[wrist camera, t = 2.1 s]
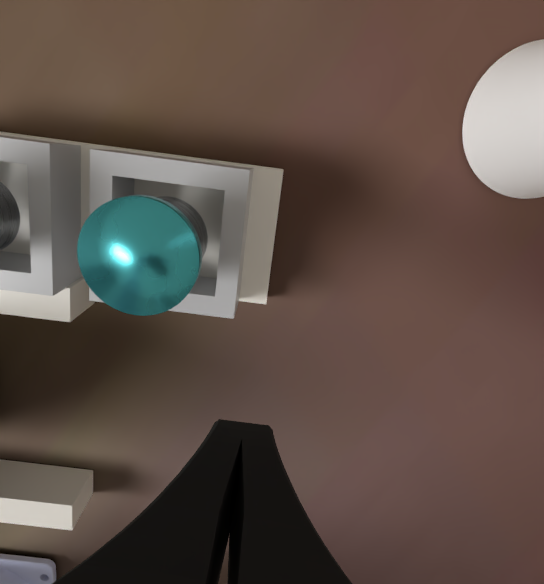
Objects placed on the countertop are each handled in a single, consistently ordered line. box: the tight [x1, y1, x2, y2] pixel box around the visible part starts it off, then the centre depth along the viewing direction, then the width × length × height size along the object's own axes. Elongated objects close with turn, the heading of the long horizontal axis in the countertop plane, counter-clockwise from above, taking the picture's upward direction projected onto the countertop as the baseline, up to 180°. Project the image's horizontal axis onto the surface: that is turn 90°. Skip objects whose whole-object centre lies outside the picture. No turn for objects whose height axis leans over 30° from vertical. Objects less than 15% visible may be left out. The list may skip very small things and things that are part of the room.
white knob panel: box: [0, 131, 284, 530], centre depth 19 cm, size 18×21×4 cm
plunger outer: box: [77, 195, 208, 316], centre depth 15 cm, size 4×4×4 cm
